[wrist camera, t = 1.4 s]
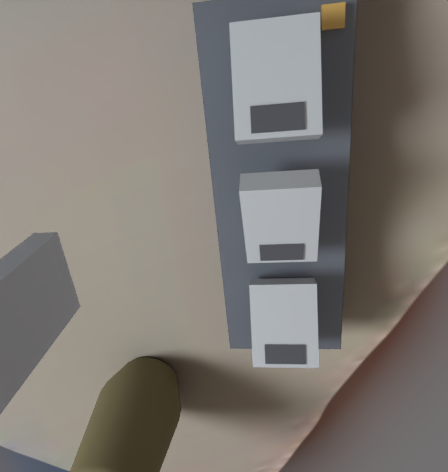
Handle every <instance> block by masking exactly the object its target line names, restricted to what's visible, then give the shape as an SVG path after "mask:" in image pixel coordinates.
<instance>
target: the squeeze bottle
mask: <svg viewBox="0 0 448 472" xmlns="http://www.w3.org/2000/svg"><path fill="white" fill-rule="evenodd" d="M180 412H181V404H180V395H179V387H178V380H177V377H176V374H175V372H174V371H173V370H172V369H171V368H170V366H169V365H167V364H166V363H164V362H162V361H160V360H158V359H154V358H149V357H143V358H136V359H134V360H132V361H130V362H128V363H127V364H126V365H125V366H124V367H123V368H122V369H121V370H120V371H118V372H117V373H116V374H115V375H114V376H113V377H112V378H111V379H110V380H109V381H108V382H107V383H106V384H105V386H104V387H103V389H102V390H101V392H100V394H99V397H98V400H97V402H96V405H95V408H94V410H93V413H92V415H91V418H90V421H89V423H88V426H87V429H86V431H85V434H84V436H83V439H82V442H81V444H80V447H79V450H78V452H77V455H76V457H75V460H74V463H73V465H72V468H71V471H70V472H160V469H161V466H162V464H163V461H164V458H165V456H166V453H167V450H168V448H169V445H170V443H171V440H172V437H173V435H174V432H175V429H176V427H177V424H178V421H179V417H180Z"/></svg>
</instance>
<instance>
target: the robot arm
mask: <svg viewBox="0 0 448 472" xmlns="http://www.w3.org/2000/svg"><path fill="white" fill-rule="evenodd" d="M79 307H80V304H79V301H78V297H77V294H76V291H75V288H74V285H73V281H72V278H71V275H70V272H69V268H68V265H67V262H66V259H65V256H64V252H63V249H62V246H61V243H60V239H59V236H58V233H57V232H51V233H33V234H32V235H31V236H30V237H28V238H27V239H26V240H24V241H23V242H22V243H21V244H19V245H18V246H17V247H15V248H14V249H13V250H12V251H10V252H9V253H8V254H6V255H5V256H4V257H3V258H1V259H0V414H1V413H2V411H3V410H4V409H5V407H6V406H7V405H8V403H9V402H10V401H11V399H12V398H13V396H14V395H15V394H16V392H17V391H18V390H19V388H20V387H21V386H22V384H23V383H24V382H25V380H26V379H27V378H28V376H29V375H30V374H31V372H32V371H33V369H34V368H35V367H36V365H37V364H38V363H39V361H40V360H41V359H42V357H43V356H44V355H45V353H46V352H47V351H48V349H49V348H50V347H51V345H52V344H53V342H54V341H55V340H56V338H57V337H58V336H59V334H60V333H61V332H62V330H63V329H64V328H65V326H66V325H67V324H68V322H69V321H70V319H71V318H72V317H73V315H74V314H75V313H76V311H77V310H78V309H79Z"/></svg>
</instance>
